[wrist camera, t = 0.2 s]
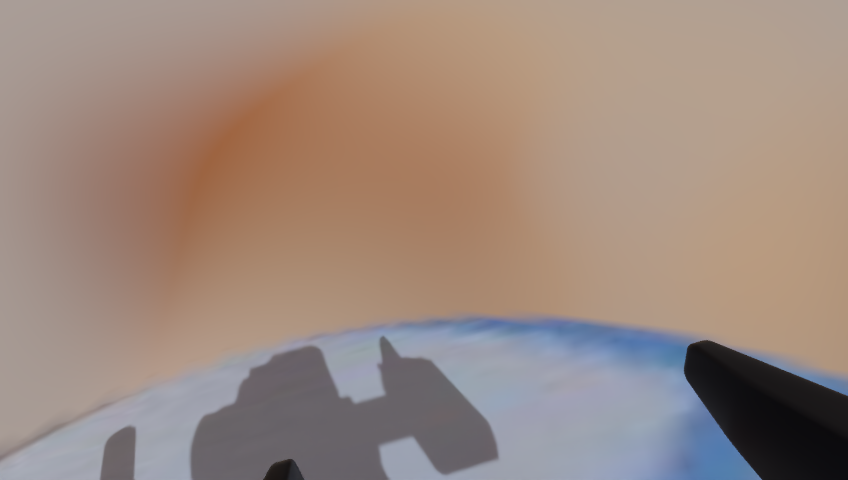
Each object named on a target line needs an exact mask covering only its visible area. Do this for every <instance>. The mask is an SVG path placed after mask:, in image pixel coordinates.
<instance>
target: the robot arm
mask: <svg viewBox="0 0 848 480" xmlns="http://www.w3.org/2000/svg"><path fill="white" fill-rule="evenodd" d="M684 374H685V377H686V379H687V381H688V382H689V384H690V385H691V387H692V388H693V389H694V391H695V392H696V394H697V395H698V397H699V398H700V399H701V401H702V402H703V404H704V405H705V406H706V408H707V409H708V411H709V412H710V414H711V415H712V416H713V418H714V419H715V421H716V422H717V424H718V425H719V426H720V428H721V429H722V431H723V432H724V434H725V435H726V436H727V438H728V439H729V440H730V442H731V443H732V444H733V445H734V447H735V448H736V449H737V450H738V452H739V453H740V454H741V455H742V456H743V458H744V459H745V460H746V461H747V462H748V464H749V465H750V466H751V467H752V468H753V469H754V471H755V472H756V473H757V474H758V475H759V477H760V478H761V479H762V480H848V396H846V395H844V394H841V393H839V392H836V391H834V390H831V389H829V388H826V387H824V386H821V385H819V384H817V383H814V382H812V381H809V380H807V379H804V378H802V377H799V376H797V375H794V374H792V373H789V372H787V371H784V370H782V369H779V368H777V367H774V366H772V365H769V364H767V363H764V362H762V361H759V360H757V359H754V358H752V357H749V356H747V355H744V354H742V353H740V352H737V351H735V350H732V349H730V348H727V347H725V346H722V345H720V344H717V343H715V342H712V341H708V340H704V341H700V342H696V343H693V344H690V345H689V346H688V348H687V353H686V359H685V365H684ZM263 480H304V478H303V476H302V474H301V472H300V470H299V468H298V467H297V465H296V463H295V461H294V460H293V459H287V460H283V461H280V462H276V463H274V464H273V465H272V466H271V467H270V469H269V470H268V472H267V474H266V476H265V477H264V479H263Z"/></svg>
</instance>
